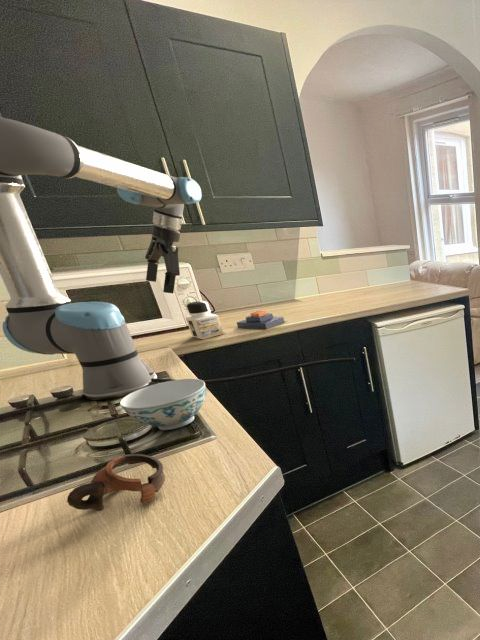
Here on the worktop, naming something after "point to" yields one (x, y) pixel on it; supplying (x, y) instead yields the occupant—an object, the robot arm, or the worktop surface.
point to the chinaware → (166, 403)
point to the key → (258, 313)
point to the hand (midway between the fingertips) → (159, 286)
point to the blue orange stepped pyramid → (260, 322)
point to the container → (202, 321)
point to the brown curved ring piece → (117, 483)
